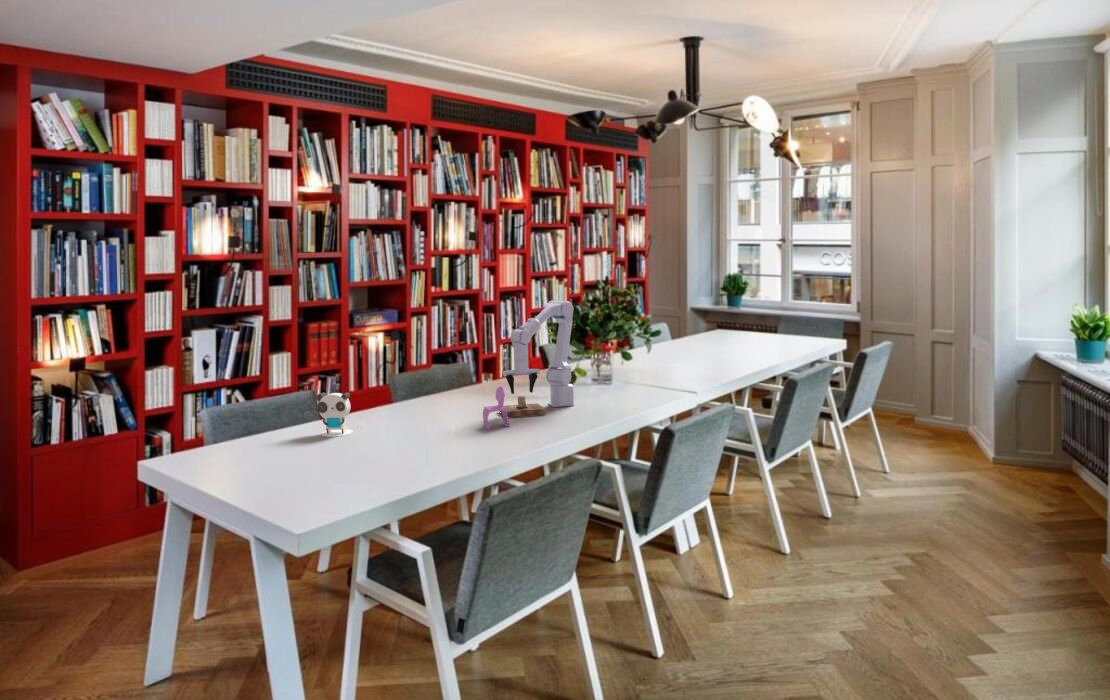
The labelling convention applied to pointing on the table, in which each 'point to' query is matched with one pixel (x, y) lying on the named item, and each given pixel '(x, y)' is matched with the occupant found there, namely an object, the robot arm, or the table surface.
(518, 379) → the table surface
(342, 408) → the panda figurine
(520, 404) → the peg
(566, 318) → the robot arm
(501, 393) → the toy chair
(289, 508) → the table surface
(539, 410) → the board
